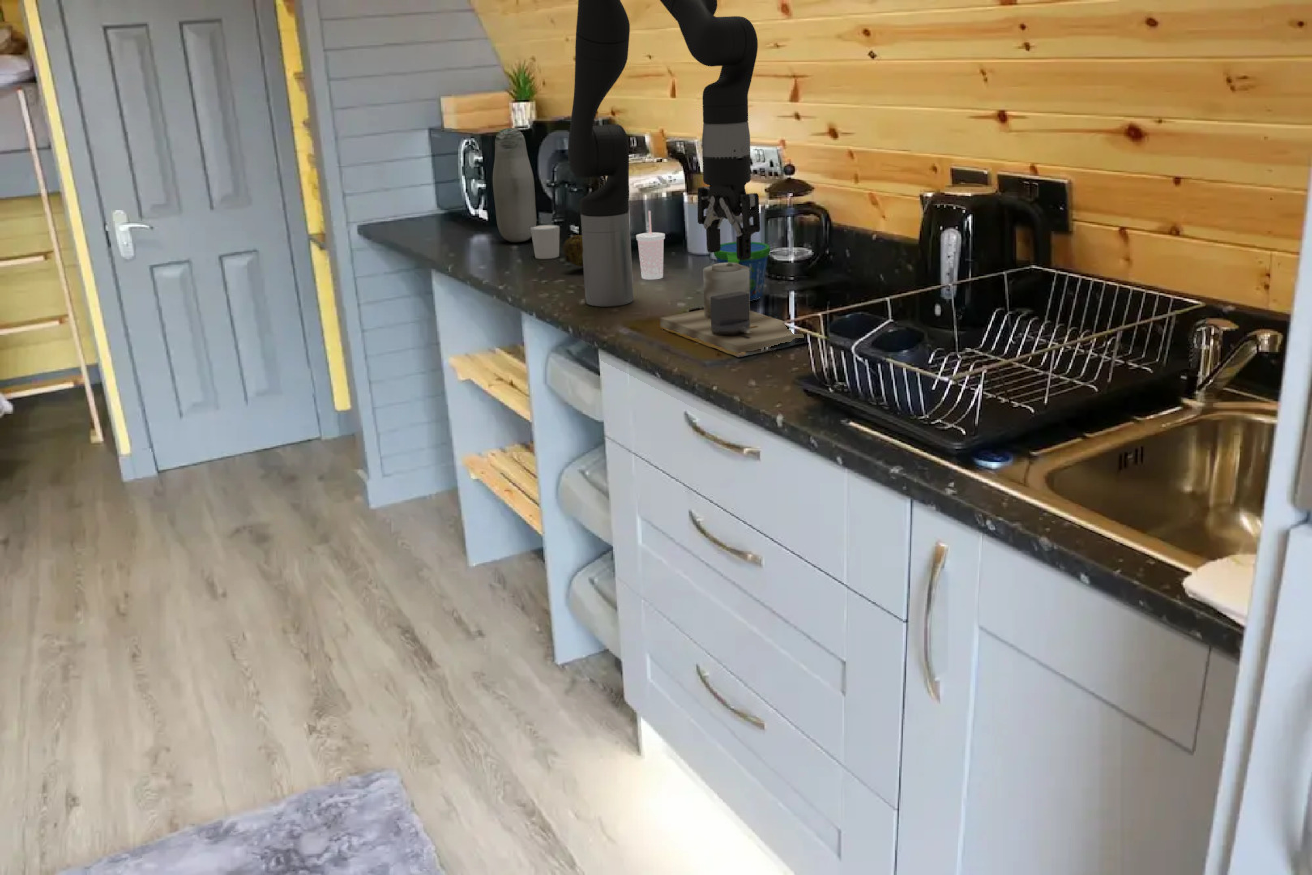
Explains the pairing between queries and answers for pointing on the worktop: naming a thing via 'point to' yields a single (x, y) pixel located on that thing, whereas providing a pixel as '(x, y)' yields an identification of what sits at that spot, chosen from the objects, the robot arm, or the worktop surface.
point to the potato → (574, 250)
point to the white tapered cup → (545, 241)
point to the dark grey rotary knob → (730, 314)
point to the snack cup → (748, 263)
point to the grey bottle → (513, 186)
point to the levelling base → (731, 341)
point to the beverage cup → (651, 253)
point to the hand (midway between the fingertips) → (728, 255)
